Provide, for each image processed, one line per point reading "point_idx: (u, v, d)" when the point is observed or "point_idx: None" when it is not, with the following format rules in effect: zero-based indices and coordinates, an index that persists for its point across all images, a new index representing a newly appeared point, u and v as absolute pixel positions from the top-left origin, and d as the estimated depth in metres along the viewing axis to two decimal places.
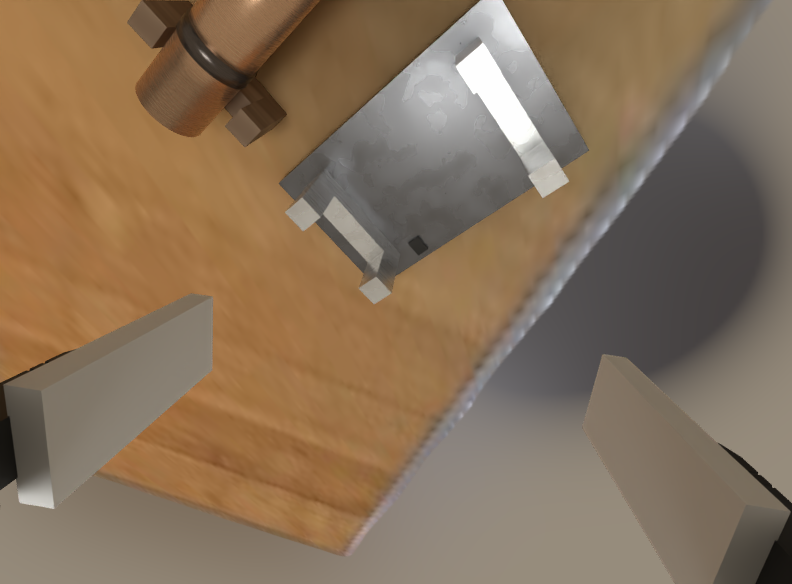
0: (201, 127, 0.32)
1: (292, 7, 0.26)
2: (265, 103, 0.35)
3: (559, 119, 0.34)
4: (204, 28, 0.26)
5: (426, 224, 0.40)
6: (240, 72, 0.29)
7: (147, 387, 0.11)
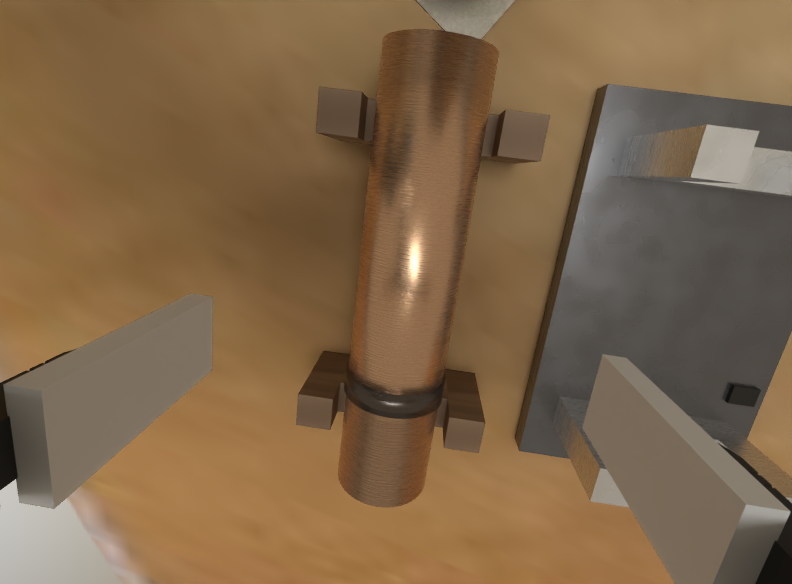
0: (426, 471, 0.24)
1: (451, 282, 0.20)
2: (453, 383, 0.28)
3: None
4: (379, 378, 0.20)
5: (731, 363, 0.26)
6: (436, 388, 0.21)
7: (147, 387, 0.11)
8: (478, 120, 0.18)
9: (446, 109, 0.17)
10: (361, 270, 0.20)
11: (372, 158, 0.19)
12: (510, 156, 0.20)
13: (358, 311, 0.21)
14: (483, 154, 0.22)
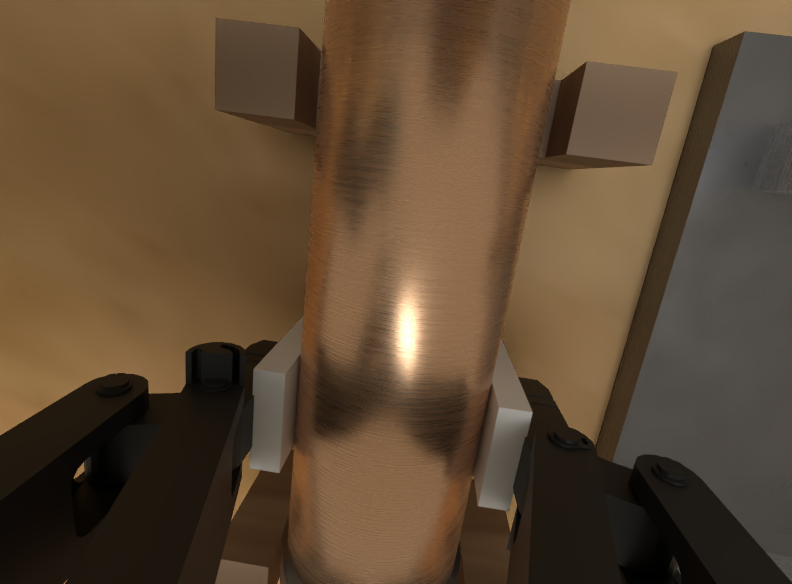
0: None
1: (476, 406, 0.10)
2: (469, 511, 0.18)
3: None
4: None
5: None
6: None
7: None
8: (543, 75, 0.08)
9: (473, 41, 0.07)
10: (301, 375, 0.10)
11: (315, 158, 0.09)
12: (592, 155, 0.10)
13: (297, 449, 0.11)
14: None
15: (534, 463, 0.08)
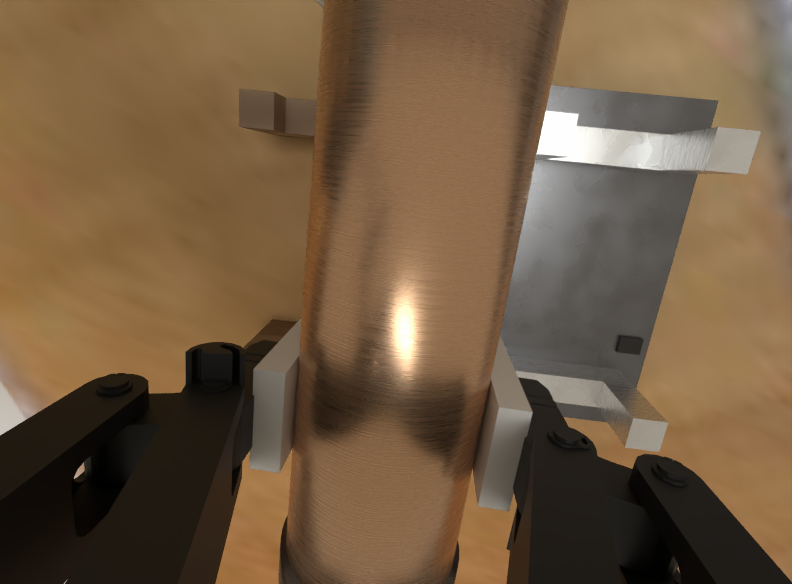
0: None
1: (473, 408, 0.10)
2: None
3: (656, 107, 0.27)
4: None
5: (617, 317, 0.31)
6: None
7: None
8: (540, 76, 0.08)
9: (470, 43, 0.07)
10: (299, 375, 0.10)
11: (313, 159, 0.09)
12: None
13: (295, 449, 0.11)
14: None
15: (534, 463, 0.08)
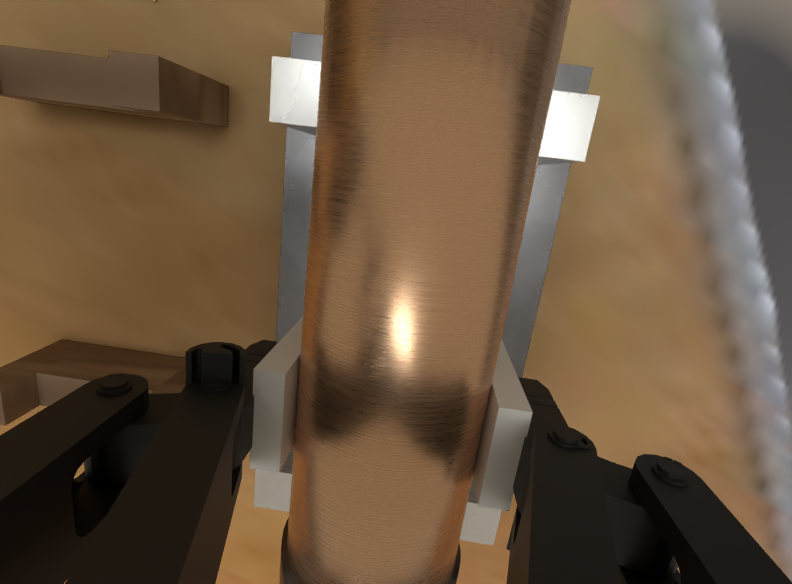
0: None
1: (475, 410, 0.10)
2: (182, 374, 0.25)
3: None
4: None
5: None
6: None
7: None
8: (542, 77, 0.08)
9: (472, 44, 0.07)
10: (300, 378, 0.10)
11: (315, 161, 0.09)
12: (125, 106, 0.17)
13: (297, 452, 0.11)
14: (134, 109, 0.19)
15: (534, 463, 0.08)
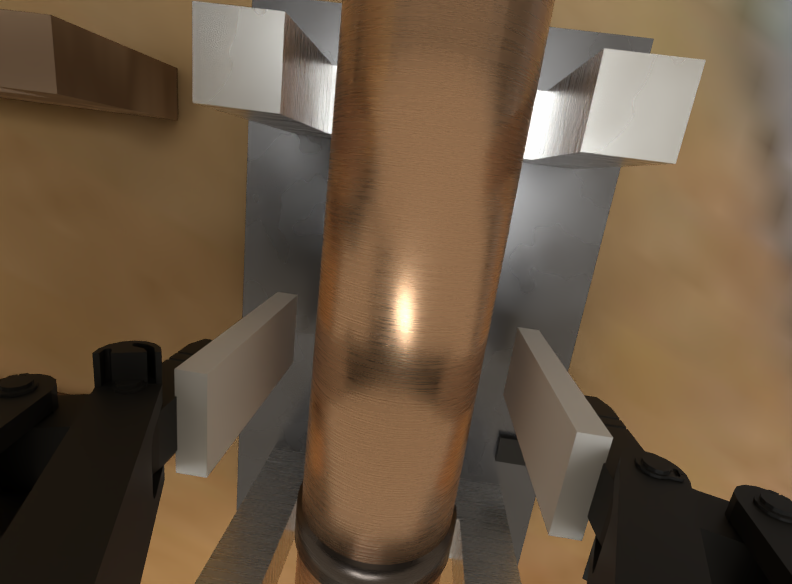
0: None
1: (469, 378, 0.11)
2: None
3: None
4: (345, 537, 0.12)
5: (495, 405, 0.19)
6: (441, 540, 0.13)
7: (258, 375, 0.13)
8: (524, 92, 0.09)
9: (464, 65, 0.09)
10: (315, 351, 0.12)
11: (330, 162, 0.11)
12: (10, 86, 0.12)
13: (312, 418, 0.12)
14: None
15: (619, 490, 0.08)
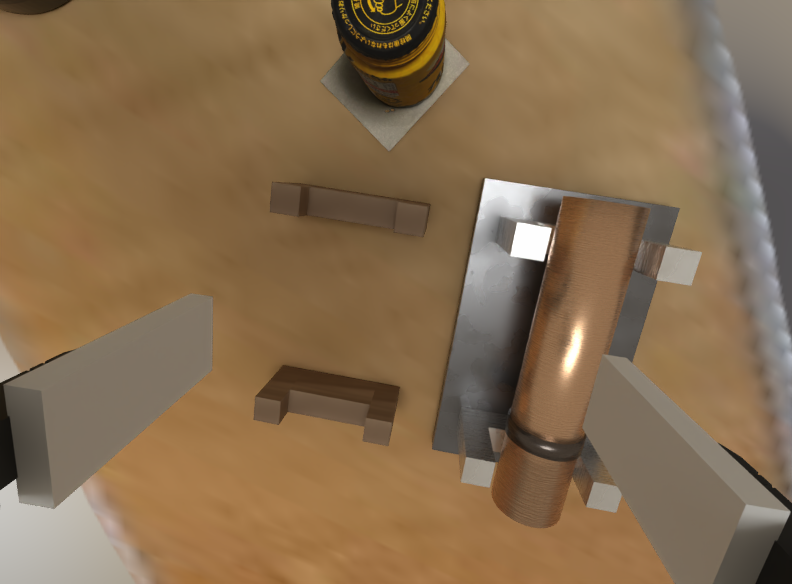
0: (563, 500, 0.31)
1: None
2: (379, 394, 0.36)
3: None
4: (547, 431, 0.28)
5: None
6: (583, 438, 0.29)
7: (147, 387, 0.11)
8: (635, 256, 0.26)
9: (619, 252, 0.25)
10: (535, 351, 0.28)
11: (553, 275, 0.27)
12: (402, 233, 0.29)
13: (530, 380, 0.28)
14: (391, 227, 0.31)
15: None
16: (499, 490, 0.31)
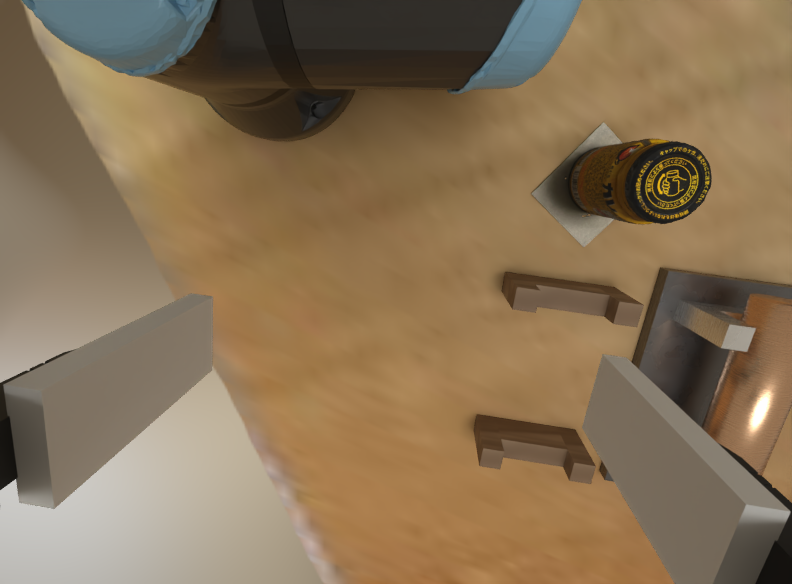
0: None
1: (783, 423, 0.35)
2: (566, 438, 0.44)
3: (782, 294, 0.39)
4: None
5: None
6: None
7: (147, 387, 0.11)
8: None
9: None
10: (727, 414, 0.36)
11: (747, 358, 0.35)
12: (620, 324, 0.36)
13: (721, 436, 0.36)
14: (599, 315, 0.38)
15: None
16: None
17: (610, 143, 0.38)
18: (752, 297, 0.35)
